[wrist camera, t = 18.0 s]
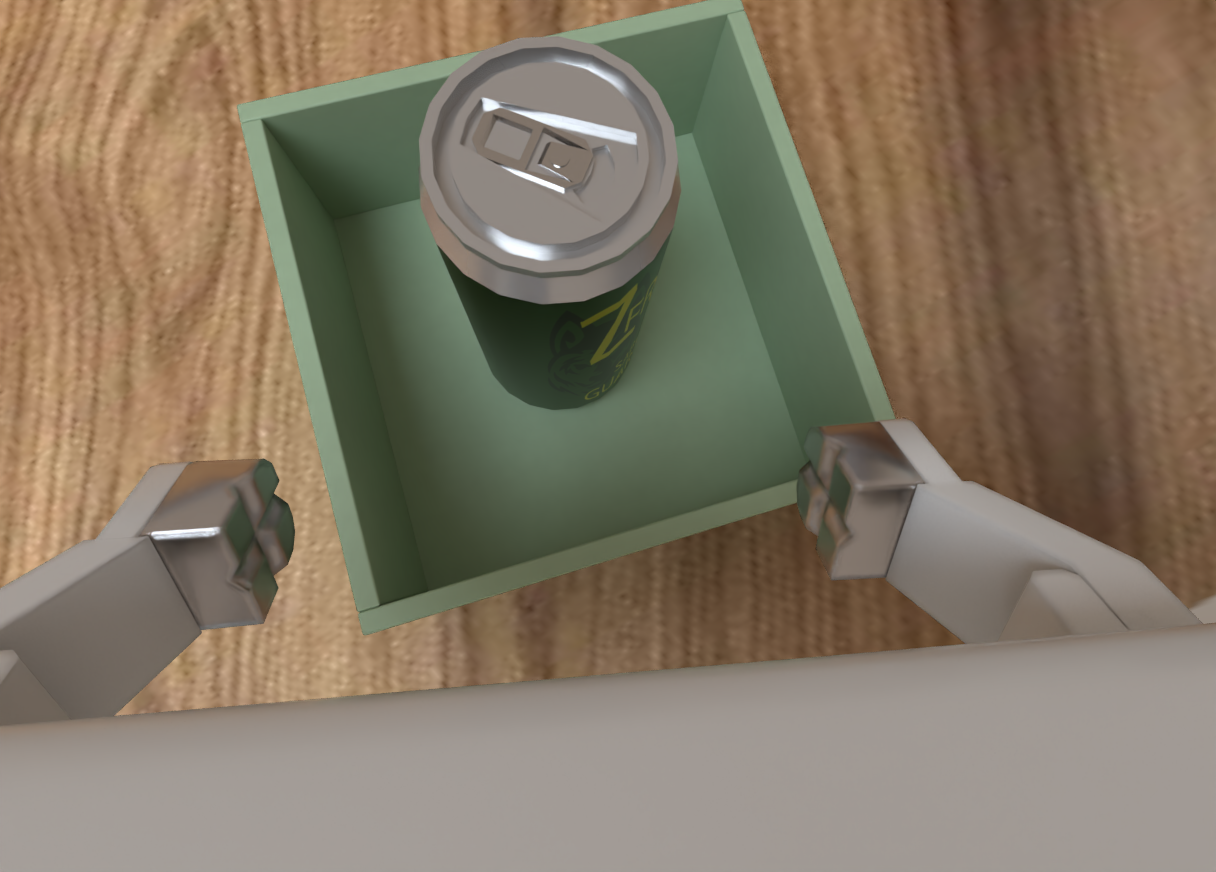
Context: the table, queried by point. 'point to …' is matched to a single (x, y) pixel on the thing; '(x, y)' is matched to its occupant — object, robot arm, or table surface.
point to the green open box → (503, 424)
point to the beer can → (551, 210)
